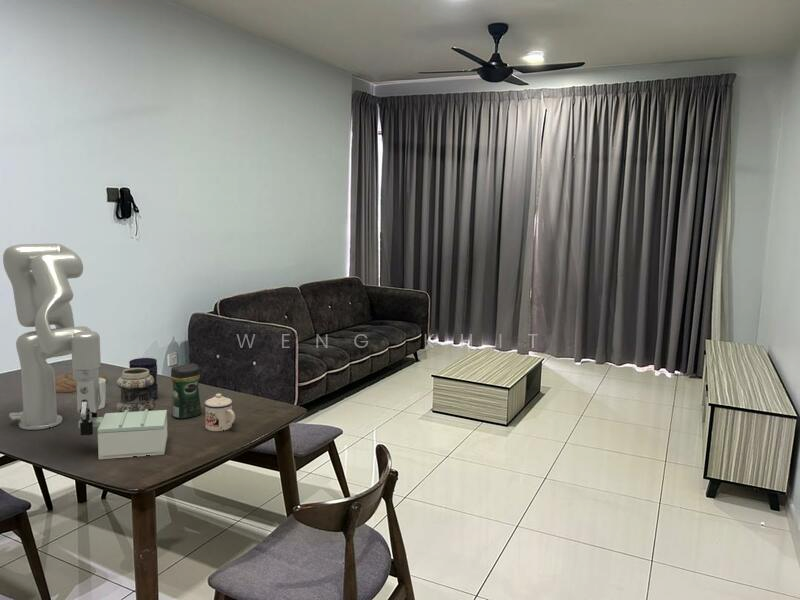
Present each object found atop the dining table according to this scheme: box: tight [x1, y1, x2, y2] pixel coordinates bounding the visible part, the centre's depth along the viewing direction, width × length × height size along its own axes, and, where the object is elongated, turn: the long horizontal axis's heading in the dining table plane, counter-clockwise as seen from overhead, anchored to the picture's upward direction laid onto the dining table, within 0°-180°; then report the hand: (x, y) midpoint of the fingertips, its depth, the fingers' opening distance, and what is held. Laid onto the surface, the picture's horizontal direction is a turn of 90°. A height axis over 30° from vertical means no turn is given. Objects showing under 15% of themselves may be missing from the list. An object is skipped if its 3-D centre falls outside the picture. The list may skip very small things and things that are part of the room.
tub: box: [97, 414, 168, 460], centre depth 187 cm, size 18×14×8 cm
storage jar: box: [128, 357, 159, 402], centre depth 231 cm, size 10×10×15 cm
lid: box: [77, 409, 168, 434], centre depth 185 cm, size 24×14×2 cm, turn 107°
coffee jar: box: [170, 362, 202, 420], centre depth 216 cm, size 10×8×19 cm
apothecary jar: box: [116, 368, 156, 413], centre depth 208 cm, size 12×12×18 cm
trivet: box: [55, 372, 108, 394], centre depth 246 cm, size 25×25×2 cm
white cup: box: [97, 378, 107, 411], centre depth 220 cm, size 8×8×10 cm
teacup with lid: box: [204, 393, 236, 432], centre depth 205 cm, size 12×9×12 cm
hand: (89, 429), depth 183 cm, fingers open, 6 cm apart
